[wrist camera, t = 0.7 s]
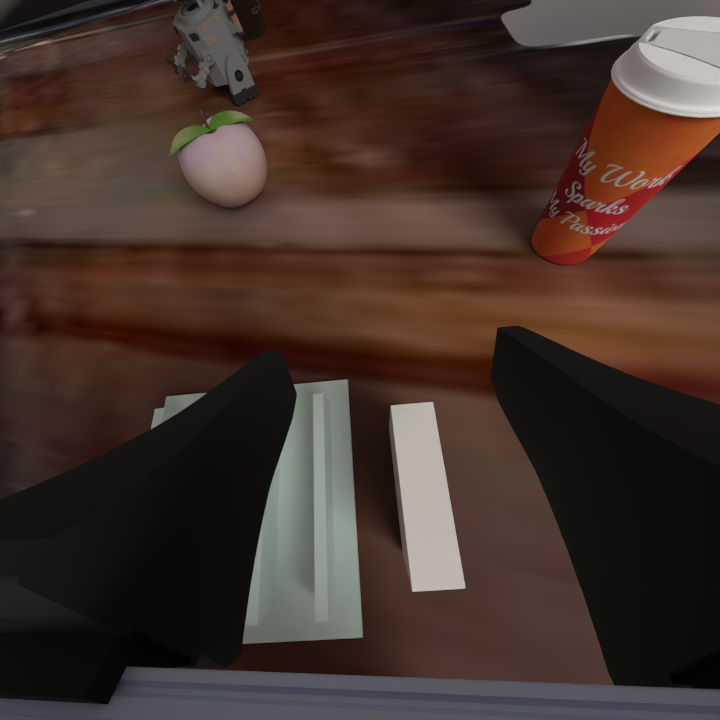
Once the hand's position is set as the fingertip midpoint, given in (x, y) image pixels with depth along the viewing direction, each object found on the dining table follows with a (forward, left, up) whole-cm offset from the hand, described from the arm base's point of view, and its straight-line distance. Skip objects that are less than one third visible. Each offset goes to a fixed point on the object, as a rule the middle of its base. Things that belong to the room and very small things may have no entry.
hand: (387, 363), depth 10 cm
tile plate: (-4, -2, -16) cm, 16 cm away
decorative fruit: (+30, +14, -16) cm, 37 cm away
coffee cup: (+18, -21, -16) cm, 31 cm away
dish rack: (-4, +11, -16) cm, 20 cm away
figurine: (+56, +20, -16) cm, 62 cm away
